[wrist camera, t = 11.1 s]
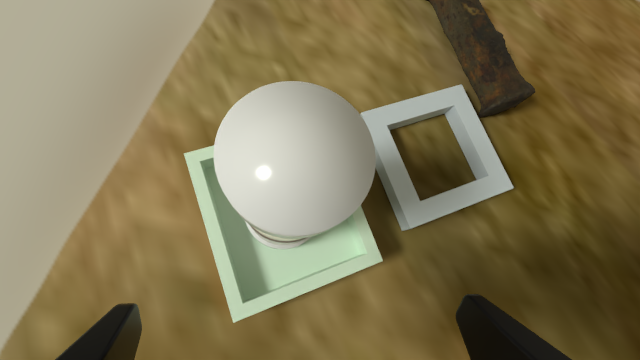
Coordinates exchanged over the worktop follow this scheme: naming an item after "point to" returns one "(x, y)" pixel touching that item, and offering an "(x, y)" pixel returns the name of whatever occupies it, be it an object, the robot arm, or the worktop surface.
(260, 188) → the mushroom-shaped knob
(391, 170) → the rectangular open frame
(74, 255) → the worktop surface
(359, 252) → the parts tray
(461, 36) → the hand tool
